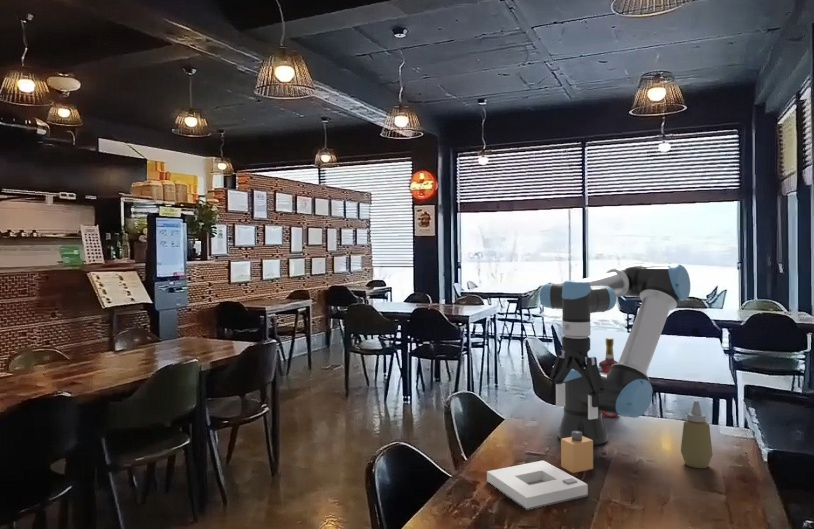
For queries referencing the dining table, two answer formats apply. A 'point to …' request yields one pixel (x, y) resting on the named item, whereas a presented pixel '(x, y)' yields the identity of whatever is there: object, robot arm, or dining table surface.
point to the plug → (576, 453)
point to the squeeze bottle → (696, 439)
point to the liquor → (608, 367)
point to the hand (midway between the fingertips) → (576, 412)
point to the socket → (537, 484)
